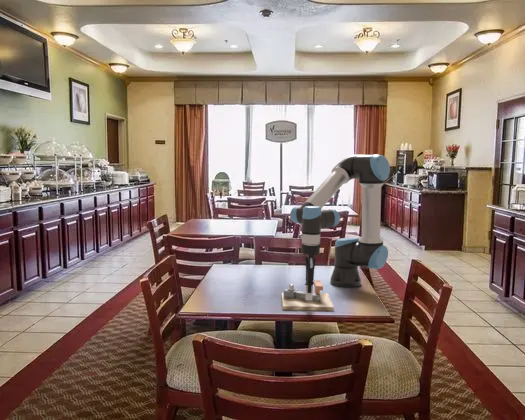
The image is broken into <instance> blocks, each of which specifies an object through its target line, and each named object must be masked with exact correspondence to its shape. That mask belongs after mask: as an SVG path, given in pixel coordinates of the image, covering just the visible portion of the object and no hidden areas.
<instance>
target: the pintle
mask: <svg viewBox="0 0 525 420" xmlns="http://www.w3.org/2000/svg"><path fill="white" fill-rule="evenodd" d="M288 288H289V291H294V289H295V287H294V284H292V283H290V284H288ZM290 299H291V298H290Z"/></svg>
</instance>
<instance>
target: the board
mask: <svg viewBox="0 0 525 420" xmlns="http://www.w3.org/2000/svg"><path fill="white" fill-rule="evenodd" d="M281 304H282V305H281V306H282V310H286V311H287V310H288V311H335V306H334V304H333V302H332V300H331V297H330V295H329V293H328V292H320V301H319V302H312V301H307V300H301V299H290V298H285V297H284V291H282V292H281Z"/></svg>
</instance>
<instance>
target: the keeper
mask: <svg viewBox="0 0 525 420" xmlns="http://www.w3.org/2000/svg"><path fill="white" fill-rule="evenodd" d="M313 282H314V284H313V287H314V293H316V294H320V293H321V291H324V285H323V283H322V281H321V280H313Z"/></svg>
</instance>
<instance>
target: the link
mask: <svg viewBox="0 0 525 420" xmlns="http://www.w3.org/2000/svg"><path fill="white" fill-rule="evenodd" d="M283 292H284V297H285V298H291V299H301V300H305V297H306V291H303V290H299V289H298V288H294V291H289V287H288V288H285V289H284V290H283ZM307 301H312V302H319V301H320V294H316V293H315V292H313V293H312V300H307Z"/></svg>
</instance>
